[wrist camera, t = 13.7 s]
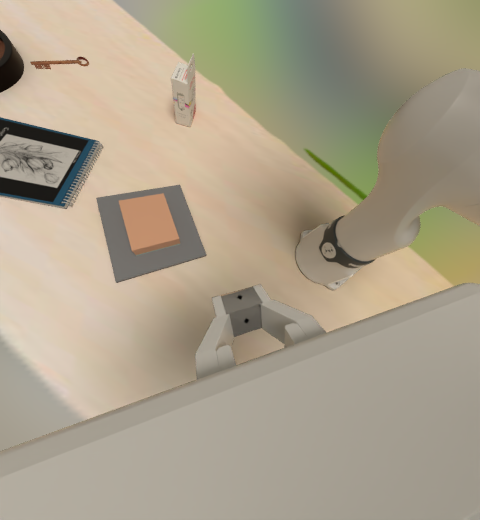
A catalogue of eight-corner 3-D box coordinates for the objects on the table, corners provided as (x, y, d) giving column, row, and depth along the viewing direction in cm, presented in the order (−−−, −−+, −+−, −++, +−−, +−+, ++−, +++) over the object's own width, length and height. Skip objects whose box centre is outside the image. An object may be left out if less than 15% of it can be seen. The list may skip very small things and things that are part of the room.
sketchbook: (-27, 115, 45) (-36, 106, 43) (106, 147, 50) (102, 140, 48) (-93, 180, 37) (-109, 172, 35) (72, 211, 42) (67, 205, 40)
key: (37, 75, 53) (93, 72, 59) (34, 71, 53) (92, 68, 58) (30, 60, 54) (86, 58, 59) (27, 56, 53) (85, 55, 58)
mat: (179, 186, 50) (179, 184, 50) (206, 255, 45) (206, 255, 45) (97, 199, 44) (96, 198, 43) (117, 282, 39) (115, 282, 38)
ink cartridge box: (181, 107, 61) (176, 45, 48) (195, 112, 62) (195, 52, 49) (175, 123, 58) (168, 62, 45) (190, 128, 59) (188, 69, 45)
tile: (180, 244, 44) (165, 200, 47) (179, 238, 41) (163, 193, 44) (136, 255, 41) (123, 208, 44) (131, 250, 38) (118, 200, 41)
